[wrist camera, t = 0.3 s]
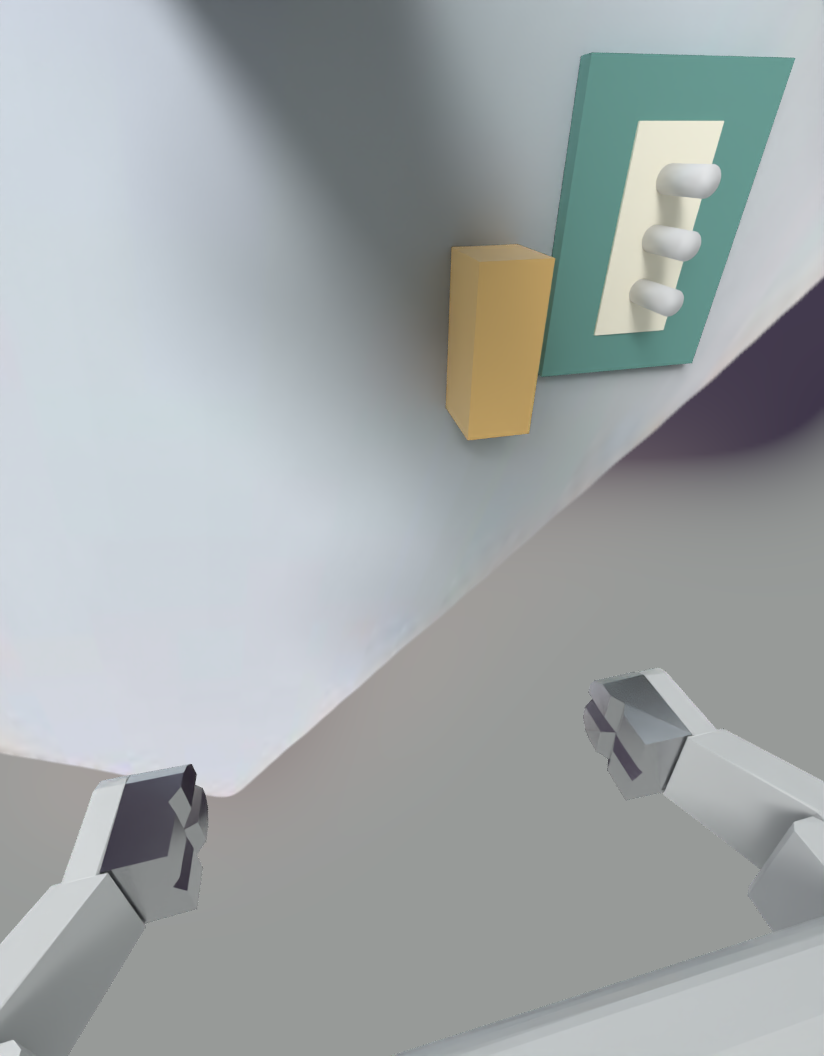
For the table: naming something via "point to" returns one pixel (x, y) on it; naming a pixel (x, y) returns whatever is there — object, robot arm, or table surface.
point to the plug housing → (495, 337)
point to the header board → (652, 203)
